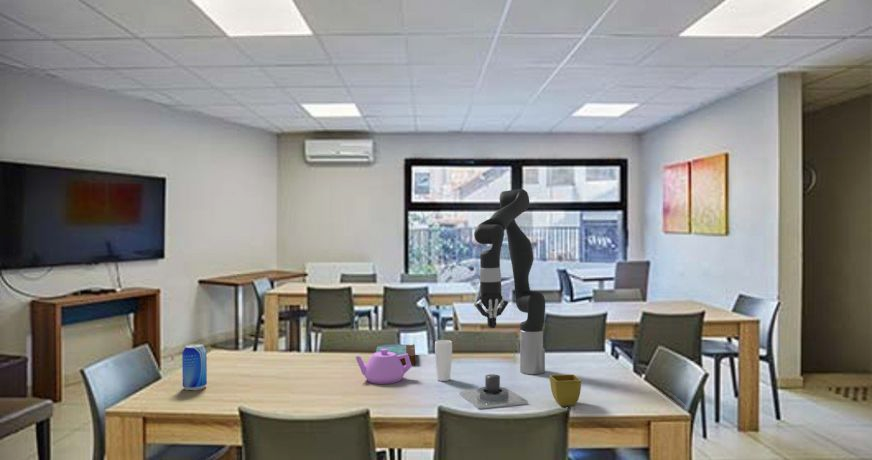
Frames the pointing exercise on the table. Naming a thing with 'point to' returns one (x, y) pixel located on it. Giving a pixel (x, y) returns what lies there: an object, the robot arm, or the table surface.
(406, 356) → the teapot
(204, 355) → the beer can
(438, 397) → the table surface
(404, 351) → the book
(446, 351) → the drinking glass
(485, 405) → the square base plate
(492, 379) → the cap
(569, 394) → the flower pot
